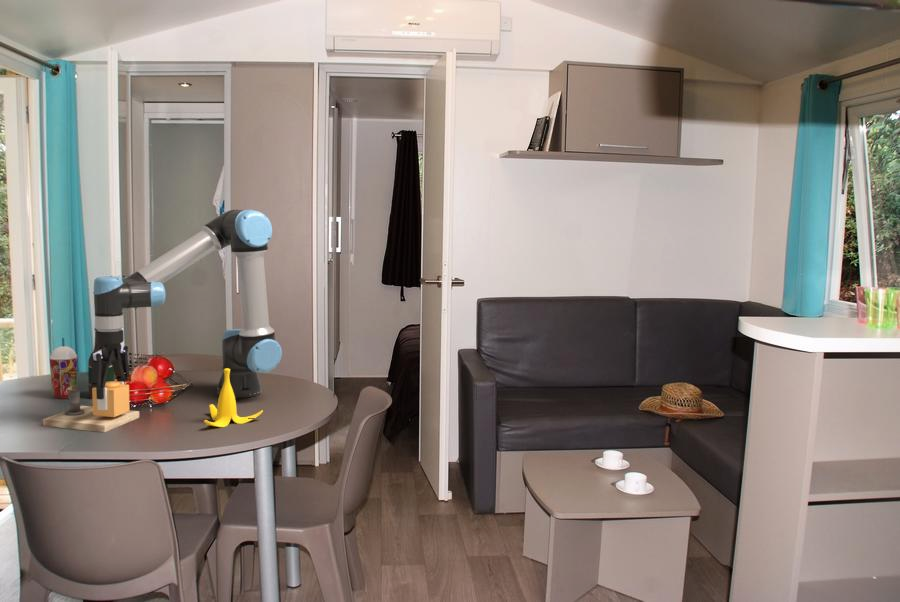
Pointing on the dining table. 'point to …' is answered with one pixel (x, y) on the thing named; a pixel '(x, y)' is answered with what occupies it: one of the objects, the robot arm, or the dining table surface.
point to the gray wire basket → (137, 362)
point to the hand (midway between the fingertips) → (111, 406)
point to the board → (86, 417)
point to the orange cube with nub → (113, 399)
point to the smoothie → (63, 371)
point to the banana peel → (226, 407)
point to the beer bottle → (109, 376)
